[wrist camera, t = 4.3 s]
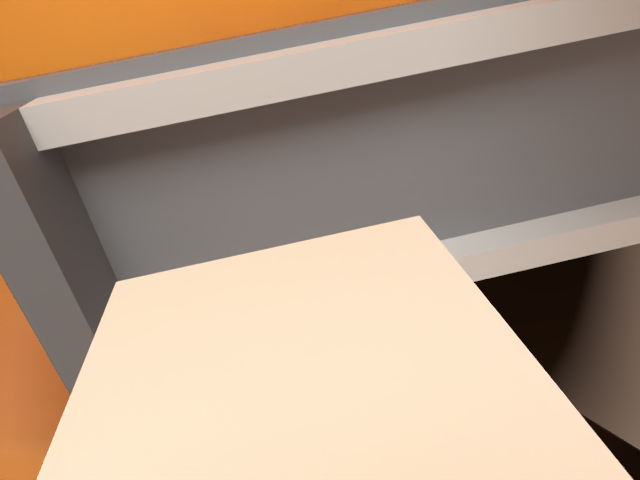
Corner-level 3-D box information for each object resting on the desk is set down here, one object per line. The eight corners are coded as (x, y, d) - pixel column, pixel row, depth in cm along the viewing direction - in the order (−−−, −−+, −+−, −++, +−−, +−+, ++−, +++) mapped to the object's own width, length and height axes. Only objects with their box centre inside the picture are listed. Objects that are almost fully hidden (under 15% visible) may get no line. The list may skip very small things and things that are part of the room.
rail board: (767, -67, 16) (923, -83, 13) (703, 203, 21) (803, 248, 17) (-26, 87, 15) (-112, 121, 11) (100, 340, 20) (69, 423, 16)
